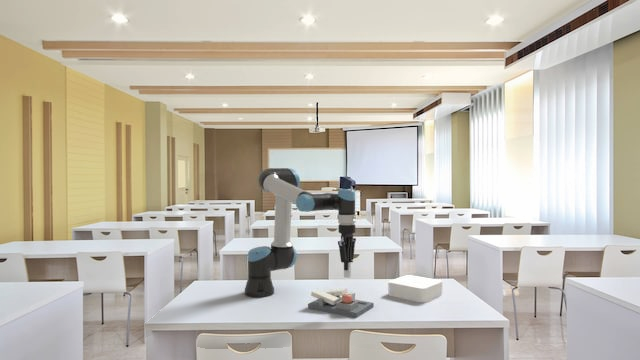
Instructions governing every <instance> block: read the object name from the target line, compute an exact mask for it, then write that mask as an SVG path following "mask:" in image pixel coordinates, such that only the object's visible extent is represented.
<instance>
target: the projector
mask: <svg viewBox="0 0 640 360" xmlns="http://www.w3.org/2000/svg"><path fill="white" fill-rule="evenodd" d="M387 283H388V288H387V289H388V296H389V297H394V298H398V299H403V300H408V301H412V302H417V303H426V302H429V301H431V300H434V299H436V298H438V297H440V296H443V280H442V279H441V280H440V279H435V278H430V277H424V276H418V275H412V274H406V275H402V276H399V277H397V278H394V279H391V280H388V282H387Z"/></svg>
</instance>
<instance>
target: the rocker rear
mask: <svg viewBox="0 0 640 360" xmlns="http://www.w3.org/2000/svg"><path fill="white" fill-rule="evenodd" d="M322 291H323V290H322ZM323 292H326V293H328V294H332V295H333V296H340V297H342V295H343V294H349V293H348V289H347V288H338V289H328V290H327V289H326V290H324V291H323Z"/></svg>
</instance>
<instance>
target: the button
mask: <svg viewBox="0 0 640 360" xmlns="http://www.w3.org/2000/svg"><path fill="white" fill-rule="evenodd" d="M341 297H342V303H344V304H352V295H351V294H349V293H346V294H343V295H341Z"/></svg>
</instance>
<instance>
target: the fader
mask: <svg viewBox="0 0 640 360" xmlns="http://www.w3.org/2000/svg"><path fill="white" fill-rule="evenodd" d="M348 294H351V295H352V300H356V293H355V292H349V293H348Z"/></svg>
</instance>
